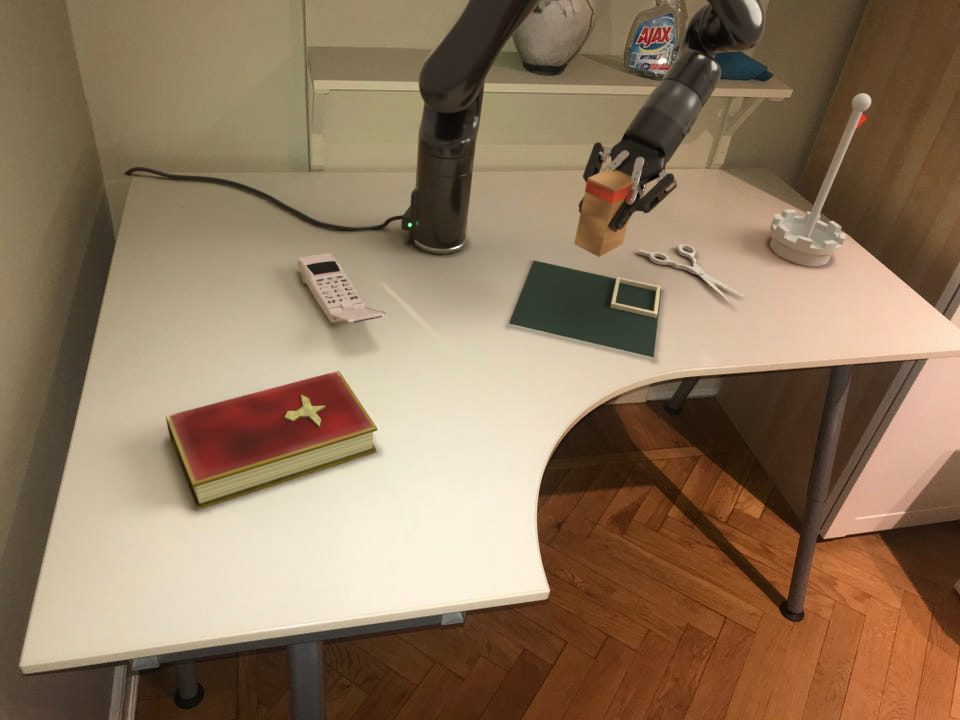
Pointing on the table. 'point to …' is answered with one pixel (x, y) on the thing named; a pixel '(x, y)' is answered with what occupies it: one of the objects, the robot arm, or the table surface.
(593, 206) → the box
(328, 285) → the mobile phone
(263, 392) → the hardcover book
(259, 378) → the table surface
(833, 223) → the flag stand
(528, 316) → the mat
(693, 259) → the scissors
